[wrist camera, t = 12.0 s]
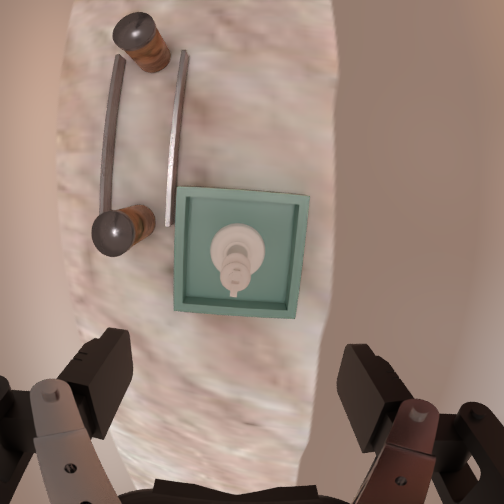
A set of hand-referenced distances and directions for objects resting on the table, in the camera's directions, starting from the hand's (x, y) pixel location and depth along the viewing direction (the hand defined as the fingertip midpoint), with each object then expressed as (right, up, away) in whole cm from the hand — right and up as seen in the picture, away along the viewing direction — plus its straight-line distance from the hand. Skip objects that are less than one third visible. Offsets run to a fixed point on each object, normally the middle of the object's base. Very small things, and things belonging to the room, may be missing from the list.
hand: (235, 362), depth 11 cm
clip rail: (-9, +15, +15) cm, 23 cm away
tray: (-1, +4, +18) cm, 19 cm away
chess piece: (-1, +4, +18) cm, 18 cm away
